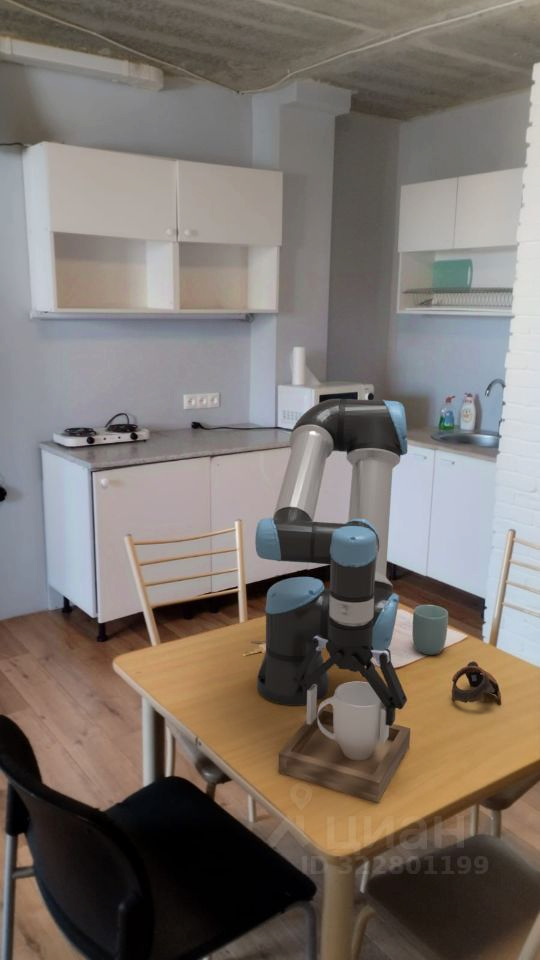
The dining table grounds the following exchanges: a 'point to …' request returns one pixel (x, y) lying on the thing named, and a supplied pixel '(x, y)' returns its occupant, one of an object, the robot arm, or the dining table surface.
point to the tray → (342, 759)
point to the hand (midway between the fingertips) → (346, 730)
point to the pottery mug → (475, 684)
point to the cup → (429, 628)
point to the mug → (355, 719)
